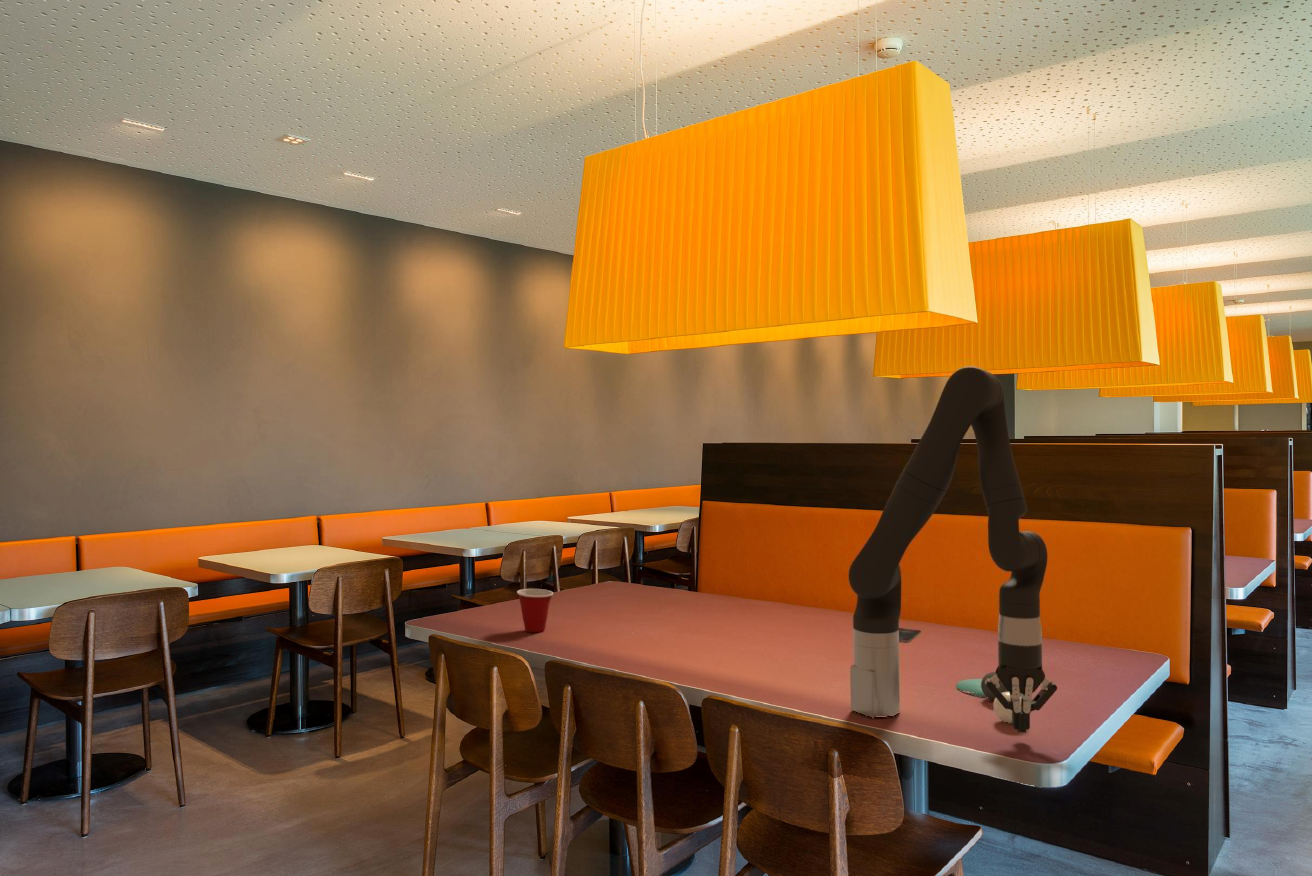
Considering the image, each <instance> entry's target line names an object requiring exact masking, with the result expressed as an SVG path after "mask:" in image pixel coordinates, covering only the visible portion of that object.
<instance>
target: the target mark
mask: <svg viewBox="0 0 1312 876" xmlns="http://www.w3.org/2000/svg"><path fill="white" fill-rule="evenodd" d="M982 679H983V678H970V679H969V678H968V679H964V680H960V681H958V682H957V683H956V685H955V687H957V688H958V689H959V690H958V689H957V688H956V689H957V690H958V691H960V690H961V691H966V692H967V691H969V692H971V693H968V694H967V695H969V694H971V695H970V696H973V695H976V696H975V697H977V696H981V697H980V698H983V697H986V696H985V694H984V693H983V691H982V688H981V682H982ZM961 691H960V692H961ZM972 692H974V693H972ZM976 692H977V693H976ZM1020 697H1021V693H1020Z"/></svg>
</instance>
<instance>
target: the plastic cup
mask: <svg viewBox="0 0 1312 876" xmlns="http://www.w3.org/2000/svg"><path fill="white" fill-rule="evenodd" d="M516 593H517V595H518V597H519V603H520V609H521V615H522V620H523V625H524V630H525V632H526V631H527V632H540V633H542V632H541V631H544V630H545V631H546V625H547V620H548V614H549V608H550V603H551V599H552V597H553V595H554V592H553V591H552V590H548V589H542V588H523V589H518V590H517V591H516ZM545 631H544V632H545ZM527 632H526V633H527Z"/></svg>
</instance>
